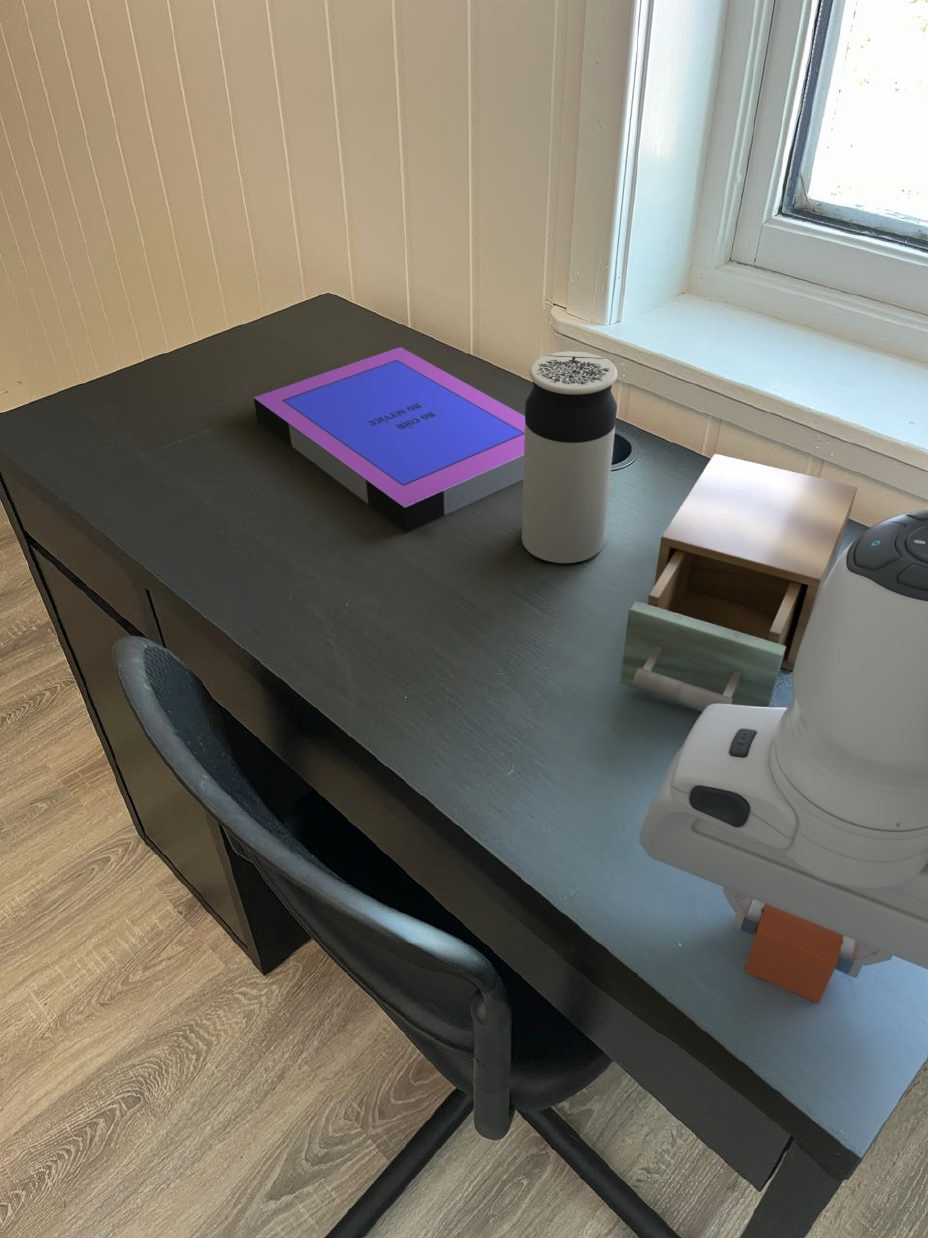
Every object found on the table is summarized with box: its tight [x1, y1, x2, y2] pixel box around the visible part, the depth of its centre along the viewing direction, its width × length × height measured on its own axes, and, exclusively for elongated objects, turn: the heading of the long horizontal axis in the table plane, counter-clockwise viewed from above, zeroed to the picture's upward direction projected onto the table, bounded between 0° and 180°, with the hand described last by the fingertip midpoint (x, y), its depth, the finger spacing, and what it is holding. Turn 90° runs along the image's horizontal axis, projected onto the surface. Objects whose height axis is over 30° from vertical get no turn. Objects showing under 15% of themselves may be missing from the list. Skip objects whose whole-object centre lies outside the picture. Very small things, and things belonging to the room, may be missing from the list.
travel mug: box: [521, 350, 618, 564], centre depth 86 cm, size 8×8×18 cm
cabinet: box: [653, 453, 858, 672], centre depth 82 cm, size 15×13×10 cm
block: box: [743, 904, 844, 1004], centre depth 57 cm, size 4×4×4 cm
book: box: [252, 346, 525, 534], centre depth 107 cm, size 21×3×30 cm
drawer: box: [619, 549, 806, 712], centre depth 74 cm, size 18×11×8 cm, turn 152°
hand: (794, 942), depth 57 cm, fingers closed on block, 4 cm apart
